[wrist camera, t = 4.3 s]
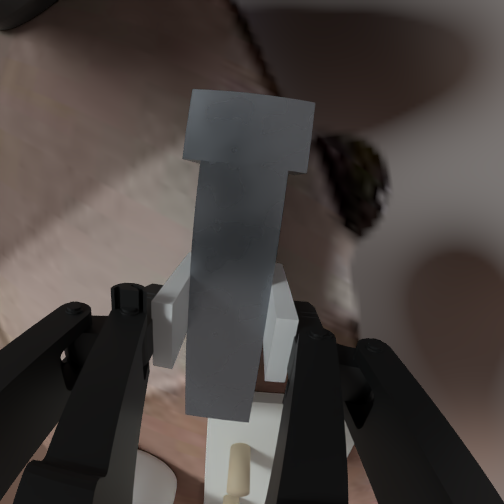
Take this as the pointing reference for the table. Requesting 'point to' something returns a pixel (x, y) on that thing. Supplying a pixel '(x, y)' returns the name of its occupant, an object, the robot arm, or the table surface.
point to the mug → (153, 481)
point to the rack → (245, 453)
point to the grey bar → (236, 237)
